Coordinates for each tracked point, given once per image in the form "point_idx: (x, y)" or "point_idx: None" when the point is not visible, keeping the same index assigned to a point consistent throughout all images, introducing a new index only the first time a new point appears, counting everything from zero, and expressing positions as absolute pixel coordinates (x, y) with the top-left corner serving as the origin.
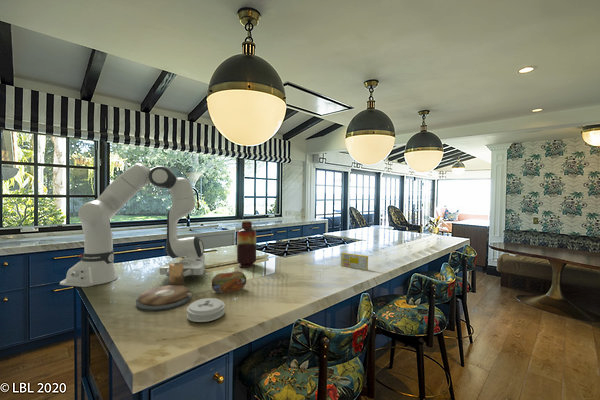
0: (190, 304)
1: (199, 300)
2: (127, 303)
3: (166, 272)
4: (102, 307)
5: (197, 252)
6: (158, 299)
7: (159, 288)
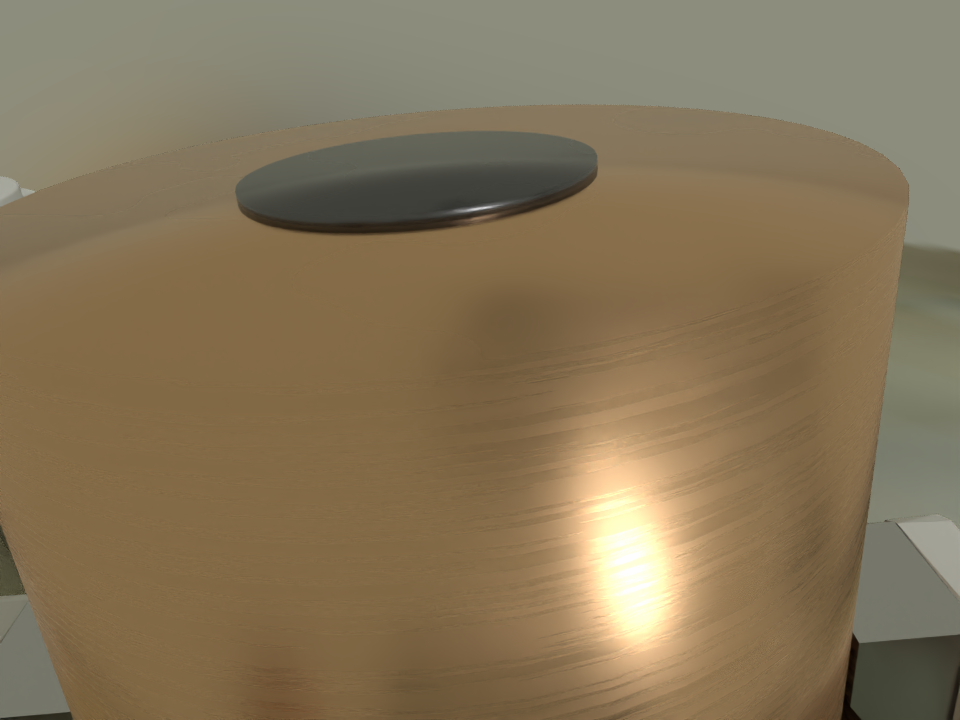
0: (6, 193)
1: None
2: None
3: (915, 517)
4: (926, 260)
5: None
6: None
7: None
